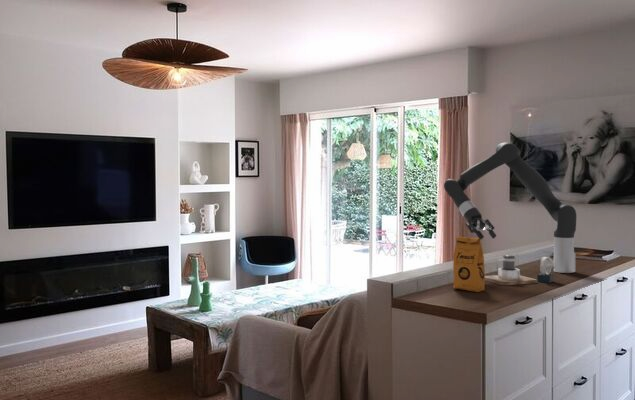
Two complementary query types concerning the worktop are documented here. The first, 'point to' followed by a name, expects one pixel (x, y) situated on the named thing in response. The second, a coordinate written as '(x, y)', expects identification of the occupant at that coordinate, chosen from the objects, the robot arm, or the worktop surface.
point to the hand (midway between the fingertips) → (488, 237)
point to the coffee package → (469, 264)
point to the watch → (546, 270)
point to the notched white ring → (509, 274)
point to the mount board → (510, 282)
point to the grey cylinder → (508, 262)
